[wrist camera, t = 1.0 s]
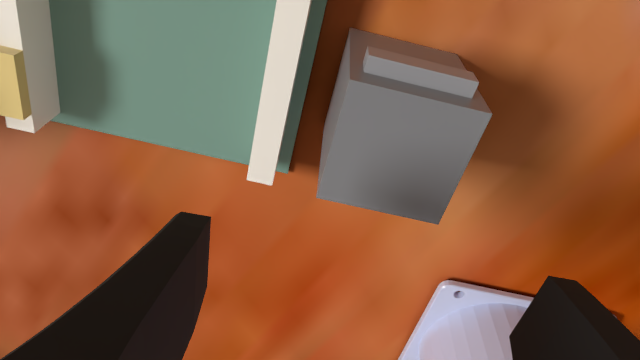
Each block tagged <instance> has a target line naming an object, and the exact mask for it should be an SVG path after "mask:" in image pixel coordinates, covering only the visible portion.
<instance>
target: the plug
mask: <svg viewBox="0 0 640 360" xmlns="http://www.w3.org/2000/svg"><path fill="white" fill-rule="evenodd" d="M478 84H479V81H478V80H477V78H476V76H475V75H474V73H473V72H470V71H467V70H466V69H465V67H464V65H463V64H462V62H461V60H460V59H459V57H458V55H457V54H453V53H450V52H446V51H442V50H438V49H434V48H430V47H426V46H422V45H418V44H414V43H410V42H406V41H402V40H398V39H394V38H390V37H386V36H382V35H378V34H374V33H370V32H366V31H362V30H358V29H354V28H350V29H349V33H348V36H347V40H346V44H345V48H344V52H343V55H342V59H341V63H340V67H339V71H338V74H337V78H336V82H335V86H334V90H333V93H332V97H331V101H330V105H329V109H328V112H327V116H326V120H325V124H324V131H323V140H322V149H321V159H320V168H319V178H318V187H317V196H316V198H320V199H324V200H329V201H333V202H338V203H343V204H347V205H352V206H356V207H361V208H365V209H370V210H374V211H379V212H384V213H388V214H393V215H397V216H402V217H406V218H411V219H415V220H420V221H425V222H429V223H434V224H439V222H440V220H441V218H442V216H443V214H444V212H445V210H446V208H447V206H448V203H449V201H450V199H451V197H452V195H453V193H454V191H455V189H456V187H457V185H458V183H459V181H460V179H461V177H462V175H463V173H464V171H465V169H466V167H467V165H468V163H469V161H470V159H471V157H472V155H473V153H474V151H475V149H476V147H477V145H478V142H479V140H480V138H481V136H482V134H483V132H484V130H485V128H486V126H487V124H488V122H489V120H490V118H491V116H492V112H491V111H490V109H489V107H488V106H487V104H486V102H485V101H484V99H483V97H482V96H481V94H480V92H479V91H478V89H477V86H478Z"/></svg>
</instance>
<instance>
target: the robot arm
mask: <svg viewBox="0 0 640 360" xmlns="http://www.w3.org/2000/svg"><path fill="white" fill-rule="evenodd" d="M210 223H211V217H209V216H203V215H197V214H191V213H186V212H180V213H178V214H177V215H175V216H174V217H173V218H172V219H171V220H170V221H169V222H168V223H167V224H166V225H165V226H164V227H163V228H162V229H161V230H160V231H159V232H158V233H157V234H156V235H155V236H154V237H153V238H152V239H151V240H150V241H149V242H148V243H147V244H146V245H145V246H143V247H142V248H141V249H140V250H139V251H138V252H137V253H136V254H135V255H134V256H133V257H131V258H130V259H129V260H128V261H127V262H126V263H125V264H123V265H122V266H121V267H120V268H119V269H118V270H117V271H115V272H114V273H113V274H112V275H111V276H110V277H109V278H107V279H106V280H105V281H104V282H103V283H102V284H100V285H99V286H98V287H97V288H96V289H94V290H93V291H92V292H91V293H89V294H88V295H87V296H86V297H84V298H83V299H82V300H81V301H79V302H78V303H77V304H75V305H74V306H73V307H72V308H70V309H69V310H68V311H67V312H65V313H64V314H63V315H62V316H60V317H59V318H58V319H56V320H55V321H54V322H52V323H51V324H50V325H48V326H47V327H46V328H44V329H43V330H42V331H40V332H39V333H38V334H36V335H35V336H33V337H32V338H31V339H29V340H28V341H26V342H25V343H23V344H22V345H21V346H19V347H18V348H16V349H15V350H13V351H12V352H10V353H9V354H7V355H6V356H5V357H3V358H2V359H0V360H182V358H183V356H184V353H185V351H186V349H187V346H188V344H189V341H190V339H191V336H192V334H193V332H194V329H195V325H196V322H197V319H198V315H199V312H200V309H201V305H202V302H203V298H204V295H205V291H206V288H207V277H208V259H209V241H210ZM456 291H460V292H456ZM398 360H640V341H639V340H638V339H637V338H636V337H635V336H634V335H633V334H632V333H631V332H630V331H629V330H628V329H627V328H626V327H625V326H624V325H623V324H622V323H621V322H620V321H619V320H618V319H617V317H616V316H615V315H613V314H612V313H611V312H610V311H609V310H608V309H606V308H605V307H604V306H603V305H602V304H601V303H600V302H599V301H598V300H597V299H596V298H595V297H594V296H593V295H592V294H591V293H590V292H588V291H587V290H586V289H585V288H584V287H583V286H582V285H580V284H579V283H578V282H577V281H575V280H569V279H564V278H558V277H552V276H548V277H547V279H546V280H545V282H544V284H543V285H542V287H541V288H540V290H539V291H538V293H537V294H536V296H535V297H534V298H533V297H528V296H524V295H519V294H514V293H509V292H505V291H500V290H495V289H490V288H486V287H481V286H476V285H471V284H467V283H462V282H457V281H452V280H446V281H443V282H441V283H440V284H439V285H438V287H437V289H436V291H435V292H434V294H433V296H432V298H431V300H430V302H429V303H428V305H427V307H426V309H425V311H424V313H423V314H422V316H421V318H420V320H419V322H418V324H417V325H416V327H415V329H414V331H413V333H412V335H411V336H410V338H409V340H408V342H407V344H406V346H405V347H404V349H403V351H402V353H401V355H400V357H399V358H398Z"/></svg>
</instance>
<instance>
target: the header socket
mask: <svg viewBox="0 0 640 360" xmlns="http://www.w3.org/2000/svg"><path fill="white" fill-rule="evenodd" d="M326 3H327V0H0V115H2V116H5V119H6V124H7V127H9V128H13V129H18V130H22V131H27V132H31V133H35V132H37V131H38V130H39V129H40V128H42V127H43V126H44V125H45V124H47V123H48V122H49V121H54V122H59V123H63V124H68V125H72V126H77V127H81V128H85V129H90V130H94V131H99V132H103V133H108V134H112V135H117V136H121V137H126V138H130V139H135V140H139V141H144V142H148V143H153V144H157V145H162V146H166V147H171V148H175V149H179V150H184V151H188V152H193V153H197V154H202V155H206V156H211V157H215V158H220V159H224V160H229V161H233V162H238V163H242V164H247V165H249V168H248V174H247V180H249V181H253V182H258V183H263V184H267V185H272V184H273V180H274V176H275V172H276V171H278V172H282V173H287V174H288V170H289V165H290V161H291V157H292V152H293V148H294V143H295V139H296V135H297V130H298V126H299V122H300V117H301V113H302V108H303V104H304V100H305V95H306V91H307V86H308V82H309V78H310V73H311V69H312V64H313V60H314V56H315V51H316V47H317V43H318V38H319V34H320V29H321V25H322V21H323V16H324V12H325V7H326Z"/></svg>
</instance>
